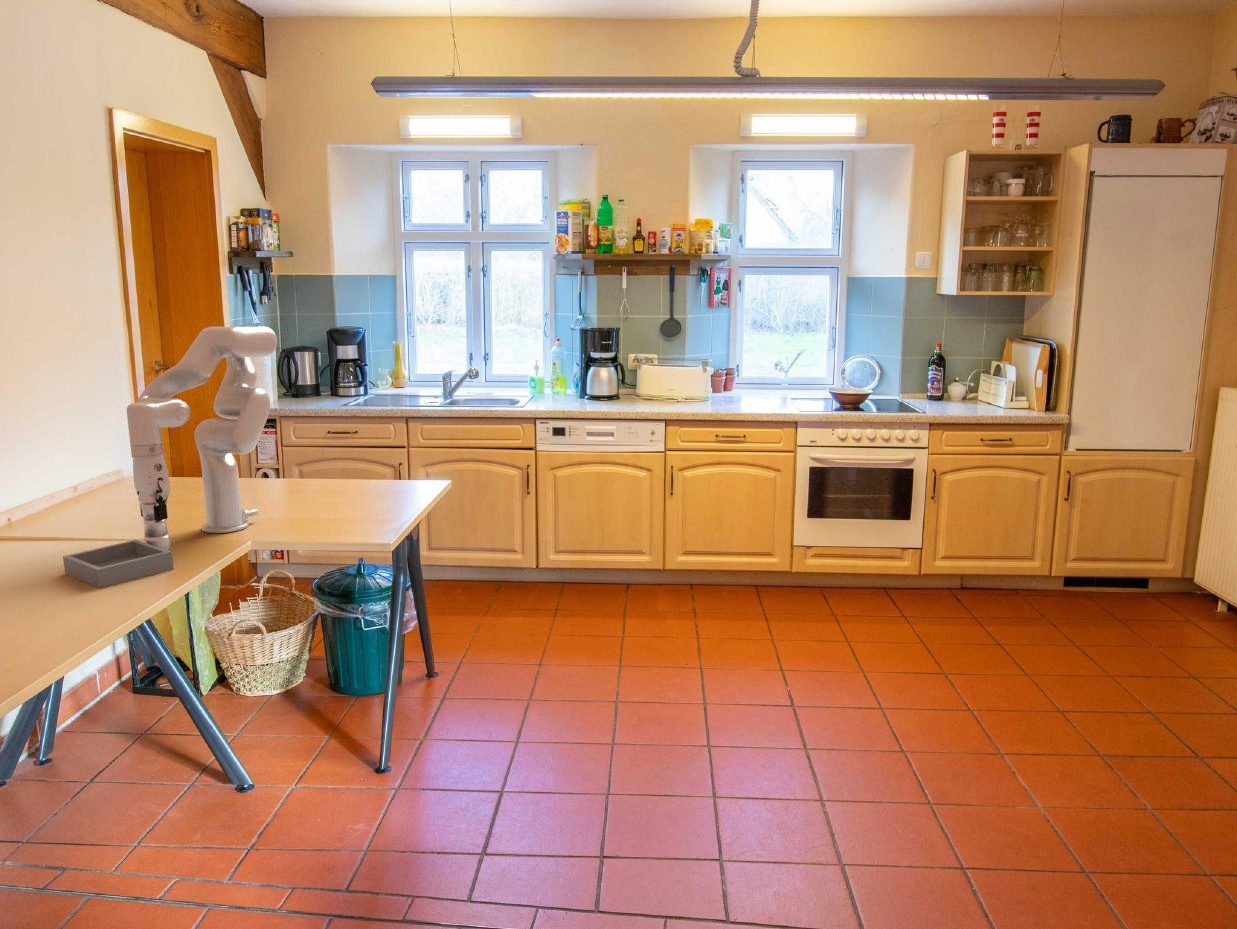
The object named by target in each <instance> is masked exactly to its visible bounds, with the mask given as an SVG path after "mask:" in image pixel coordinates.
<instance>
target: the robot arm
mask: <svg viewBox="0 0 1237 929" xmlns="http://www.w3.org/2000/svg"><path fill="white" fill-rule="evenodd" d="M277 347H278V337H277V335H276V333H275V331H274V330H273V329H272V328H270V327H269V326H263V325H262V326H261V325H260V326H258V325H255V326H254V325H233V326H208V327H206V328H203V329H202V330H201V331H200V332H199V334H197V336H196V338H195V339H194V341H193V342H192V343H191V345H190V346H189V348H188V349H187V351H186V352H185V354H184V355H183V356H182V358H181V359H180V361H179V362H177V364H176V365H174V366H172V367H171V368H169V369H167V370H165V371H164V372H163V373H161V374H160V375H159V376H156V377H155V378H154V379H153V380H152V381H150V382H149V383H148V384H147V385H146V386H145V388H144V389H143V391H142V392H141V394H140V396H139V397H138V399H137V401H135V402H134V403H130V404H128V405H127V407H126V417H127V418H126V419H127V426H128V427H127V429H128V437H129V444H130V445H129V446H130V454H131V458H132V467H133V468H132V469H133V470H132V471H133V472H132V473H133V482H134V489H135V490H136V494H137V496H138V499H139V498H140V495H141V493H142V492H145V493H147V494H149V495H152V497H153V501H154V504H155V506H153V509H154V518H155V521H160V520H164V519H166V520H167V519H168V509H167V504H168V497H169V495H170V491H171V485H170V484H171V483H170V476H169V471H168V466H167V462H166V458H165V456H164V455H165V454H164V453H165V452H164V445H163V435H162V434H163V433H162V429H163V428H177V427H178V428H179V427H181V426H183V425H185V424H186V423H187V422H188V421H189V419H190V417H191V408H190V406H189V404H188V403H186V401H184V400H181V399H180V398H173V397H174V396H176V395H178V394H179V393H182V392H185V391H187V390H191V389H194V388H197V387H199V386H201V385H204V384H206V383H207V382H208V381H209V379H210V377H211V376H212V375H213V373H214V371H215V370H216V369H217V367H218V365H219V363H221V361H222V360H223V359H224V358H225V361H226V370H225V374H224V377H223V379H222V382H221V383H220V387H219V389H218V391H217V393H216V396H215V398H214V402H213V411H214V412H215V414H216V415H217V416H218V417H221V418H208V419H205V420H203V421H201V422H199V423H198V424H197V426H196V428H195V430H194V440H195V445H196V448H197V451H198V454H199V455H198V456H199V459H200V465H201V466H200V467H201V473H202V474H201V475H202V483H203V484H202V486H203V495H204V496H203V497H204V505H205V506H204V507H205V516H206V522H205V523H203V524H202V525H201V531H202V532H204V533H208V534H224V533H225V534H226V533H232V532H233V533H234V532H237V531H238V532H239V531H241V530H245V529H247V528H248V527H249V526H250V523H249V520H248V519H249V518H250V517H255V516H258V515H259V512H258V511H259V510H257V509H256V508H253V509H242V498H241V490H240V489H241V488H240V477H239V467H238V463H237V460H236V458H235V456H234V455H247V454H249V453H251V452H252V451H254V449H255V448H256V447H257V444H258V442H259V440H260V438H261V436H262V434H263V430H264V427H265V426H266V423H267V420H268V418H269V415H270V411H271V398H270V396H269V394H268V392H267V391H266V390H265V389H262V388H261V387H258V386H257V387H256V386H255V385H256V383H257V378H258V373H257V368H256V366H255V363H254V362H253V359H252V358H259V357H260V358H261V357H268V356H269V355H272V354H273V353H274V352H275V350H276V349H277ZM157 491H160V493H156V492H157ZM157 496H160V497H159V498H158V500H157ZM139 507H140V515H141V517H142V518H143V513H142V509H141V506H140V505H139Z"/></svg>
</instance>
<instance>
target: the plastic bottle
mask: <svg viewBox="0 0 1237 929" xmlns="http://www.w3.org/2000/svg"><path fill="white" fill-rule="evenodd" d="M156 493H160V491H157V492H156ZM159 497H160V496H157V500H158V498H159ZM138 502H139V507H140V506H141V509H142V513H143V517H142V519H143V524H144V525H143V526H144V528H143V529H144V537H143V542H144V543H147V544H150V545H153V546H156V547H159V548H162V549H165V550H168V551H170V548H171V541H172V540H171V536H170V534H169V530H168V525H167V519H164V520H160V521H155V518H154V509H153V506H155V504H154V501H153V497H152V495H149V494H147V493H145V492H142V493H141V495H140V498H139V497H138ZM141 509H140V510H141Z"/></svg>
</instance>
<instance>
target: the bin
mask: <svg viewBox="0 0 1237 929" xmlns="http://www.w3.org/2000/svg"><path fill="white" fill-rule="evenodd" d="M62 561H63V567H64V574H65V575H67V576H69V577H72V578H74V577H75V578H74V579H77V580H79V581H81V580H82V582H83V583H86V582H87V583H86V584H89V583H90V584H89V585H92V586H93V585H94V587H96V588H99V589H102V588H106V587H110V586H112V585H117V584H116V583H118V584H121V582H122V583H124V582H125V583H126V582H130V581H132V580H136V579H140V578H139V577H141V578H144V576H145V577H148V575H149V576H152V575H156V574H159V573H158V572H160V573H163V572H162V571H164V572H167V570H168V571H171V570H170V569H172V570H174V569H175V568H174V560H173V551H171V550H165V549H162V548H159V547H156V546H153V545H150V544H147V543H144V541H140V540H137V539H133V540H129V541H125V542H119V543H116V544H112V545H111V544H110V545H107V546H103V547H98V548H94V549H89V550H85V551H81V552H76V553H72V554H67V555H64V556H62ZM155 573H156V574H155ZM151 574H152V575H151Z"/></svg>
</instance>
